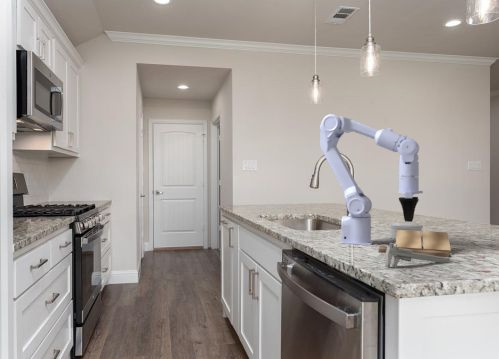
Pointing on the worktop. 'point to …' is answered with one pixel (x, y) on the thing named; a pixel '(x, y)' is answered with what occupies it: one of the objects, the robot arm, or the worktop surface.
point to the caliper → (408, 256)
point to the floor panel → (420, 251)
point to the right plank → (436, 241)
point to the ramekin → (403, 227)
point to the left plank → (408, 239)
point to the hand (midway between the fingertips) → (408, 220)
